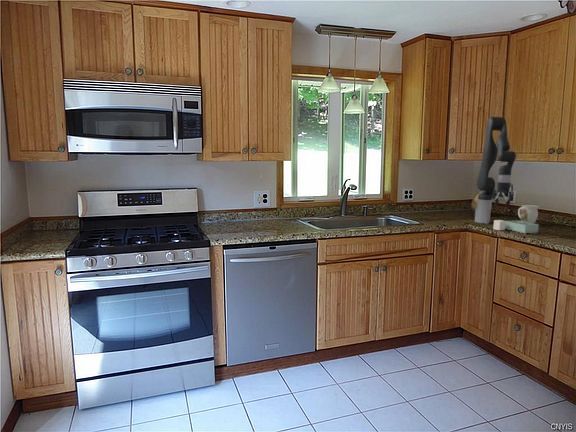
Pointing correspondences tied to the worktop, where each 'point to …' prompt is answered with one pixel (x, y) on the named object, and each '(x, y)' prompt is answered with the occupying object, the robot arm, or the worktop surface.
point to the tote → (522, 227)
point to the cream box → (499, 225)
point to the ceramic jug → (474, 202)
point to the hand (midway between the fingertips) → (501, 206)
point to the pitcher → (528, 213)
